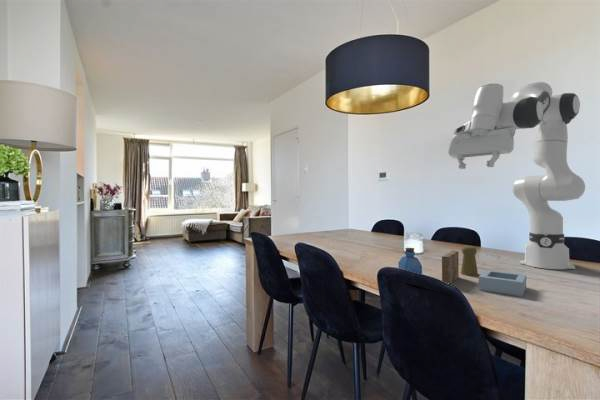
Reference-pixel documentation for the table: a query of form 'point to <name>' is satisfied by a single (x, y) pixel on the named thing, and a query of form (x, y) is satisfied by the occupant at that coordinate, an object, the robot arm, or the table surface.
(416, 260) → the perfume bottle
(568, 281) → the table surface
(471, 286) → the table surface
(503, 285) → the socket block
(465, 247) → the cork
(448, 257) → the wall
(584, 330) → the table surface
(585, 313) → the table surface
